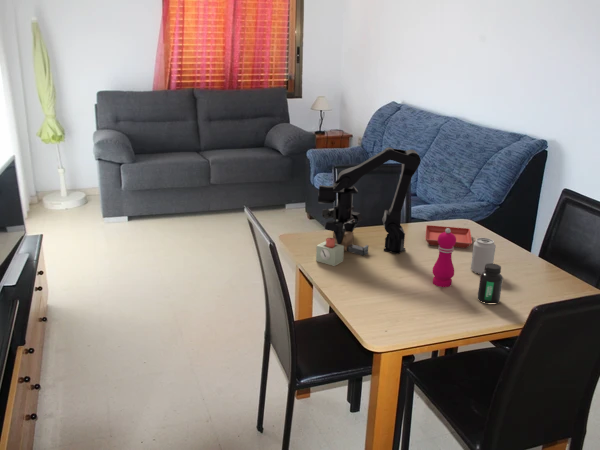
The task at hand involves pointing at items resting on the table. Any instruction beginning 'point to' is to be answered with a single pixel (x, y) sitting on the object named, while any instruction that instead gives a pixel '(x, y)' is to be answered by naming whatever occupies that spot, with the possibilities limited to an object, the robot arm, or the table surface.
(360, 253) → the rail
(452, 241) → the pepper mill
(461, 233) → the plant saucer
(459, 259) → the table surface
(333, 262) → the cabinet
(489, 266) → the supplement bottle
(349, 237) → the block
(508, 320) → the table surface
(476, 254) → the can
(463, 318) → the table surface
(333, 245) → the gauge button
